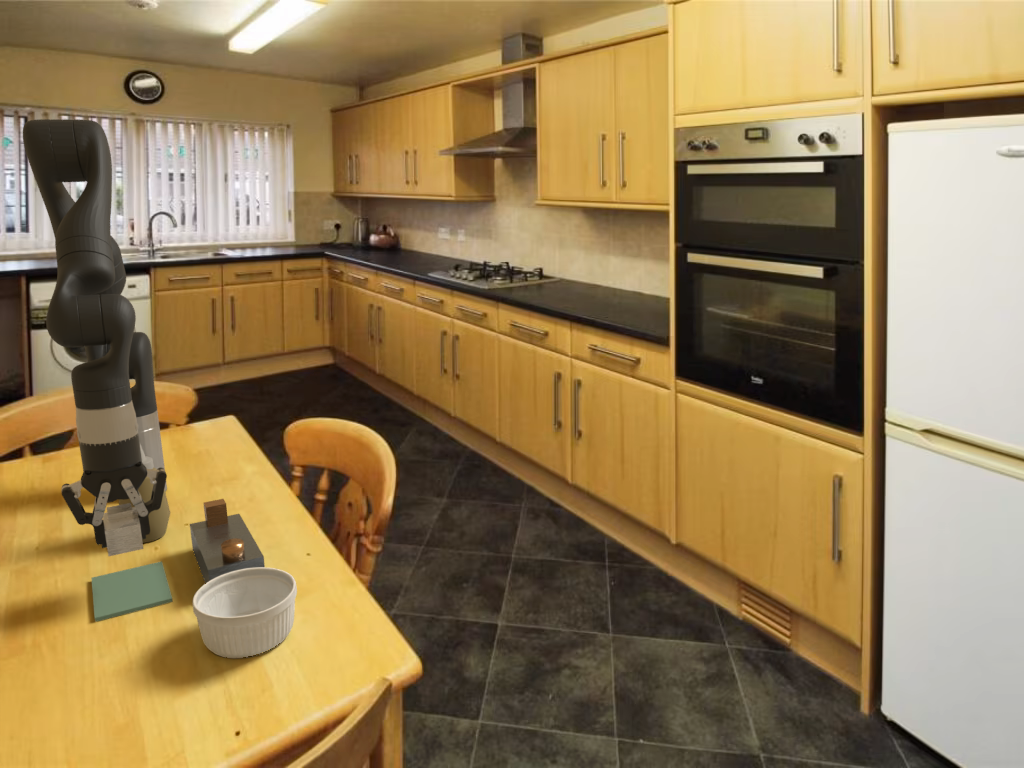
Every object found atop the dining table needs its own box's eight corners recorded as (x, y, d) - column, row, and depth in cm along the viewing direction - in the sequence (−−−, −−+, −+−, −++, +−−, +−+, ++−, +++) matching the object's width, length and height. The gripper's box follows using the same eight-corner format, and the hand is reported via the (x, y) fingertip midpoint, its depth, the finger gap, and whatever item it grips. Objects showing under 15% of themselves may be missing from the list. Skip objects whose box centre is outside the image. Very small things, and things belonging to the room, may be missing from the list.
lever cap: (106, 537, 106) (101, 507, 105) (139, 530, 109) (135, 500, 107) (108, 556, 101) (103, 524, 99) (143, 548, 103) (139, 517, 102)
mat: (91, 581, 109) (91, 577, 109) (162, 564, 115) (161, 561, 114) (95, 621, 99) (94, 618, 99) (172, 601, 104) (172, 598, 104)
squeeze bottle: (159, 522, 130) (148, 430, 125) (181, 534, 125) (169, 439, 120) (114, 537, 124) (100, 441, 119) (134, 551, 119) (120, 452, 114)
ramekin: (266, 598, 105) (262, 556, 103) (319, 631, 97) (316, 586, 95) (179, 639, 95) (173, 593, 93) (230, 679, 87) (225, 630, 85)
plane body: (192, 550, 119) (187, 504, 117) (241, 539, 123) (237, 494, 121) (211, 600, 104) (205, 547, 102) (266, 585, 109) (261, 535, 106)
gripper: (160, 419, 107) (172, 521, 111) (50, 434, 100) (67, 543, 104) (166, 432, 101) (179, 540, 105) (49, 449, 94) (68, 564, 98)
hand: (123, 540), depth 105 cm, fingers closed on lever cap, 4 cm apart
